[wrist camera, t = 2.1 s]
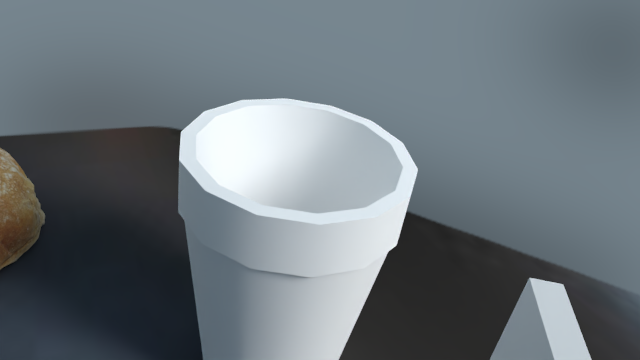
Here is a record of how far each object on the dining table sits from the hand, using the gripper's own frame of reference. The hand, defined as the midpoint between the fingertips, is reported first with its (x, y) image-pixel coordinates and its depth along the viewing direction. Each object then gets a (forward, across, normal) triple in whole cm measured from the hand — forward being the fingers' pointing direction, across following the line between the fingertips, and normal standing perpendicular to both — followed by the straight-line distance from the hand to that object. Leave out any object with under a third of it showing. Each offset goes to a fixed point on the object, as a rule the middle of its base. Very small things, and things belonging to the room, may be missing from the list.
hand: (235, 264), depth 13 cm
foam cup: (+10, +1, -16) cm, 18 cm away
